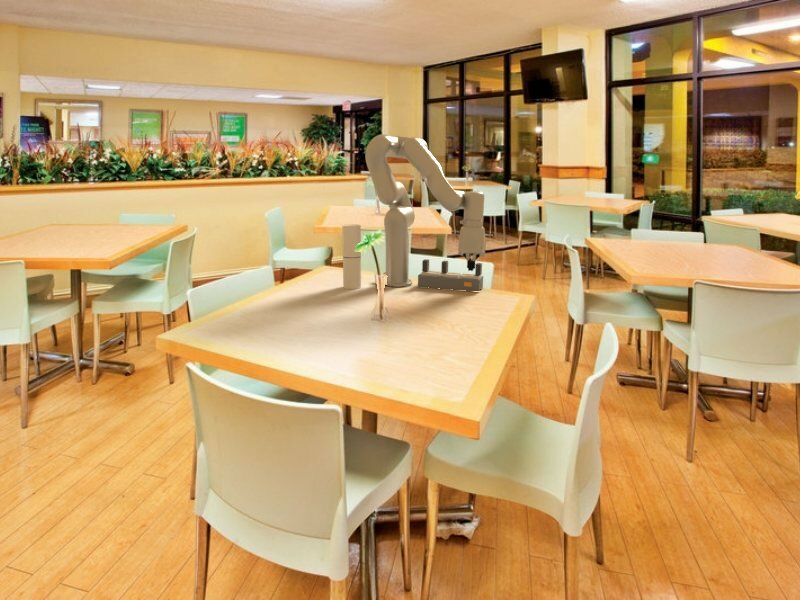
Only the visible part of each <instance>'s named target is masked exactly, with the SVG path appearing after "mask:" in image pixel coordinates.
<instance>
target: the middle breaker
mask: <svg viewBox="0 0 800 600" xmlns="http://www.w3.org/2000/svg"><path fill="white" fill-rule="evenodd" d="M440 271H441V273H447V272H449V260H442V261H441V270H440Z"/></svg>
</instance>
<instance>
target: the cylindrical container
mask: <svg viewBox="0 0 800 600" xmlns="http://www.w3.org/2000/svg"><path fill="white" fill-rule="evenodd" d="M341 226H342V227H341V228H342V229H341V230H342V231H341V232H342V234H341V235H342V272H343V273H342V274H343V275H342V278H343V279H342V282H343V289H346V290H358V289H361V288H362V256H361V255H362V251H361V252H355V251H354V250H355V246H356V245H357V244H358V243H360V242H362V239H361V238H362V237H361V231H362V230H361V227H362V226H361V224H354V223H352V224H351V223H350V224H349V223H346V224H342V225H341Z"/></svg>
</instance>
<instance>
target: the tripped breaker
mask: <svg viewBox="0 0 800 600" xmlns="http://www.w3.org/2000/svg"><path fill="white" fill-rule="evenodd" d="M474 271H475V273H474V274H475V275H478V276H482V273H483V263H482V262H477V263H475V270H474Z"/></svg>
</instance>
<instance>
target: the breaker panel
mask: <svg viewBox="0 0 800 600" xmlns="http://www.w3.org/2000/svg"><path fill="white" fill-rule="evenodd" d="M418 287H427V288H426V289H430V288H440V289H439V290H442V289H453V290H452V291H454V290H466V291H480V289H482V290H483V287H484V276H483V275H480V276H478V275H475V273H465V272H464V273H463V272H462V273H461V272H451V271H448V272H447V273H441V270H440V271H439V270H429V271H427V272H426V271H422V272H420V274H418V276H417V288H418ZM428 287H429V288H428ZM480 292H481V291H480Z"/></svg>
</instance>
